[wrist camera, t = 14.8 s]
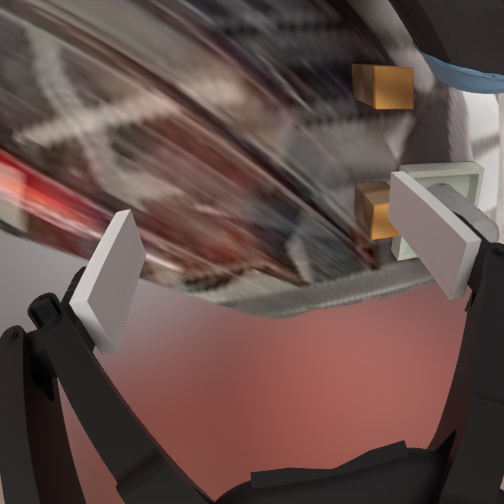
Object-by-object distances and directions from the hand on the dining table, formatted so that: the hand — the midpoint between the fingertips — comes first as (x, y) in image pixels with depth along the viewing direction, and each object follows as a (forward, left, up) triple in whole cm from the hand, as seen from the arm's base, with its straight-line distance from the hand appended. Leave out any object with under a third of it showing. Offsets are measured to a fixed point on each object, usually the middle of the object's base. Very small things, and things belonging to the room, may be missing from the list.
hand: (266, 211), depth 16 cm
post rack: (+6, +18, -29) cm, 34 cm away
